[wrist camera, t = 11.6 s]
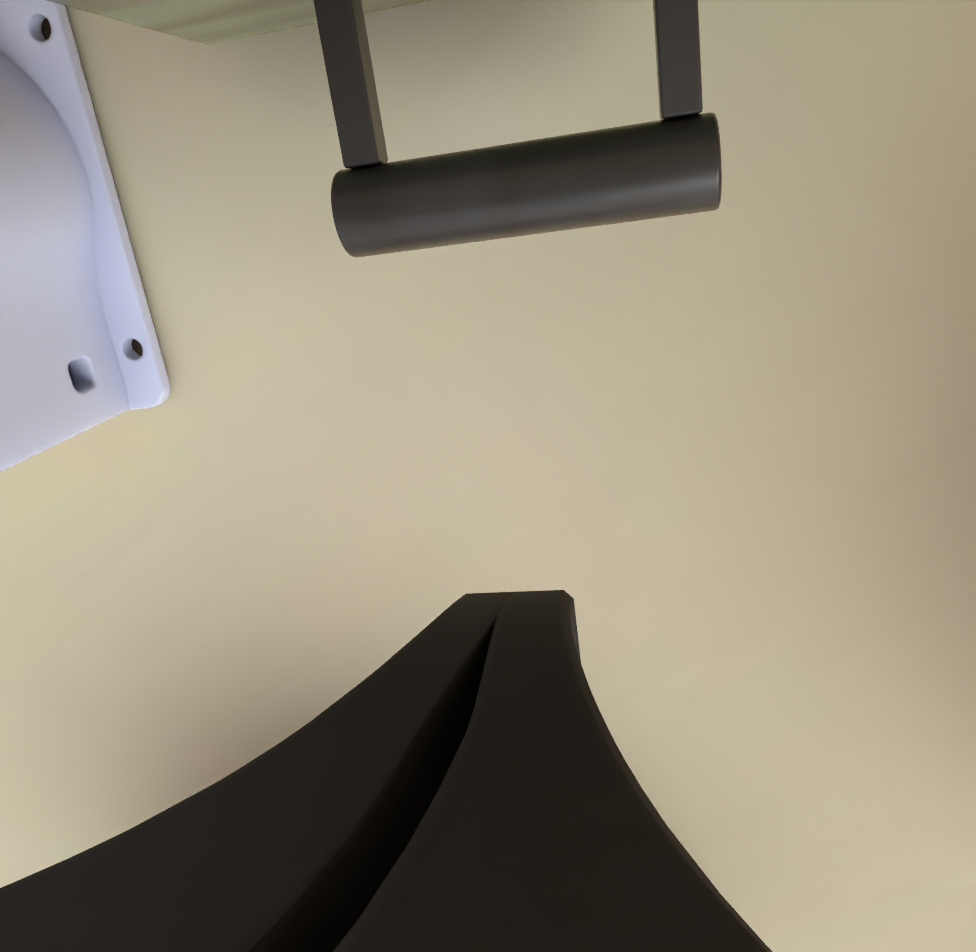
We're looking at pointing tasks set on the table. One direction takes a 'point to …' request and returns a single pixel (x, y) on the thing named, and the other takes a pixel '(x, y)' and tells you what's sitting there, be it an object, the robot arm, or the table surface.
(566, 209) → the drawer
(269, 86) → the table surface
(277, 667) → the table surface
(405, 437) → the table surface
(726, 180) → the table surface
